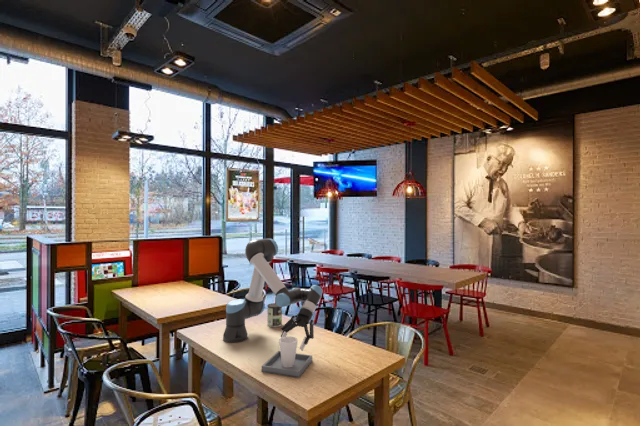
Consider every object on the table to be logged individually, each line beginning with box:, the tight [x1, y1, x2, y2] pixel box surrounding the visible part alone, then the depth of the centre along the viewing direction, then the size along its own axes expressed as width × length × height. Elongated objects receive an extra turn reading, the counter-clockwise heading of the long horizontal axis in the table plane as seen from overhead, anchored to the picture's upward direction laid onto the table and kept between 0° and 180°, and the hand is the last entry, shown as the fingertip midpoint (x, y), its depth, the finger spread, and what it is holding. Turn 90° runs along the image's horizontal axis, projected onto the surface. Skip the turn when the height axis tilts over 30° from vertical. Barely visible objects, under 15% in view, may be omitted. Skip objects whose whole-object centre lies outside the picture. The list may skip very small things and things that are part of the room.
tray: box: [261, 350, 313, 379], centre depth 181 cm, size 20×20×3 cm
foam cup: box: [278, 336, 298, 367], centre depth 181 cm, size 10×9×13 cm
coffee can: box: [266, 302, 283, 328], centre depth 247 cm, size 10×10×14 cm
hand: (290, 346), depth 182 cm, fingers open, 13 cm apart
